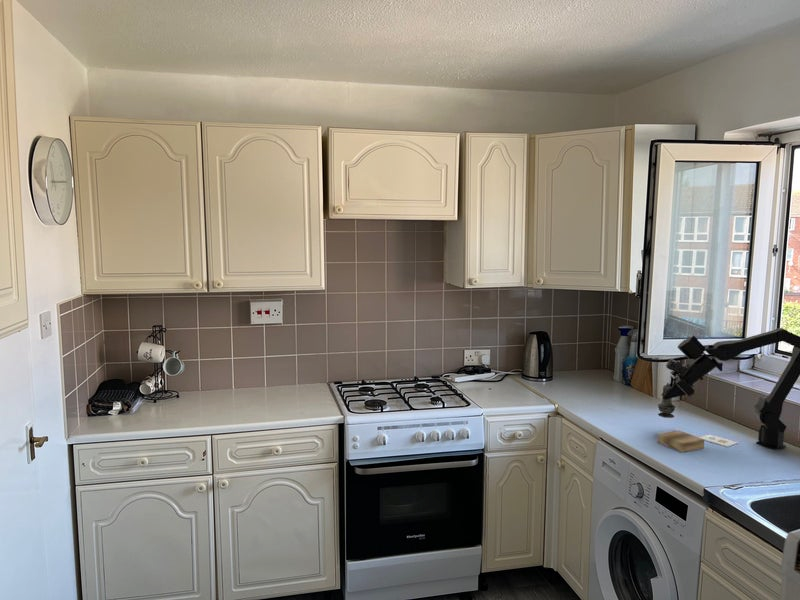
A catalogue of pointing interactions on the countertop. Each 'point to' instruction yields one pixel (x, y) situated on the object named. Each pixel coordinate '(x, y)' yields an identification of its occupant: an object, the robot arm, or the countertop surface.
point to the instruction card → (718, 440)
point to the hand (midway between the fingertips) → (662, 397)
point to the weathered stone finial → (666, 404)
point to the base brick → (681, 441)
